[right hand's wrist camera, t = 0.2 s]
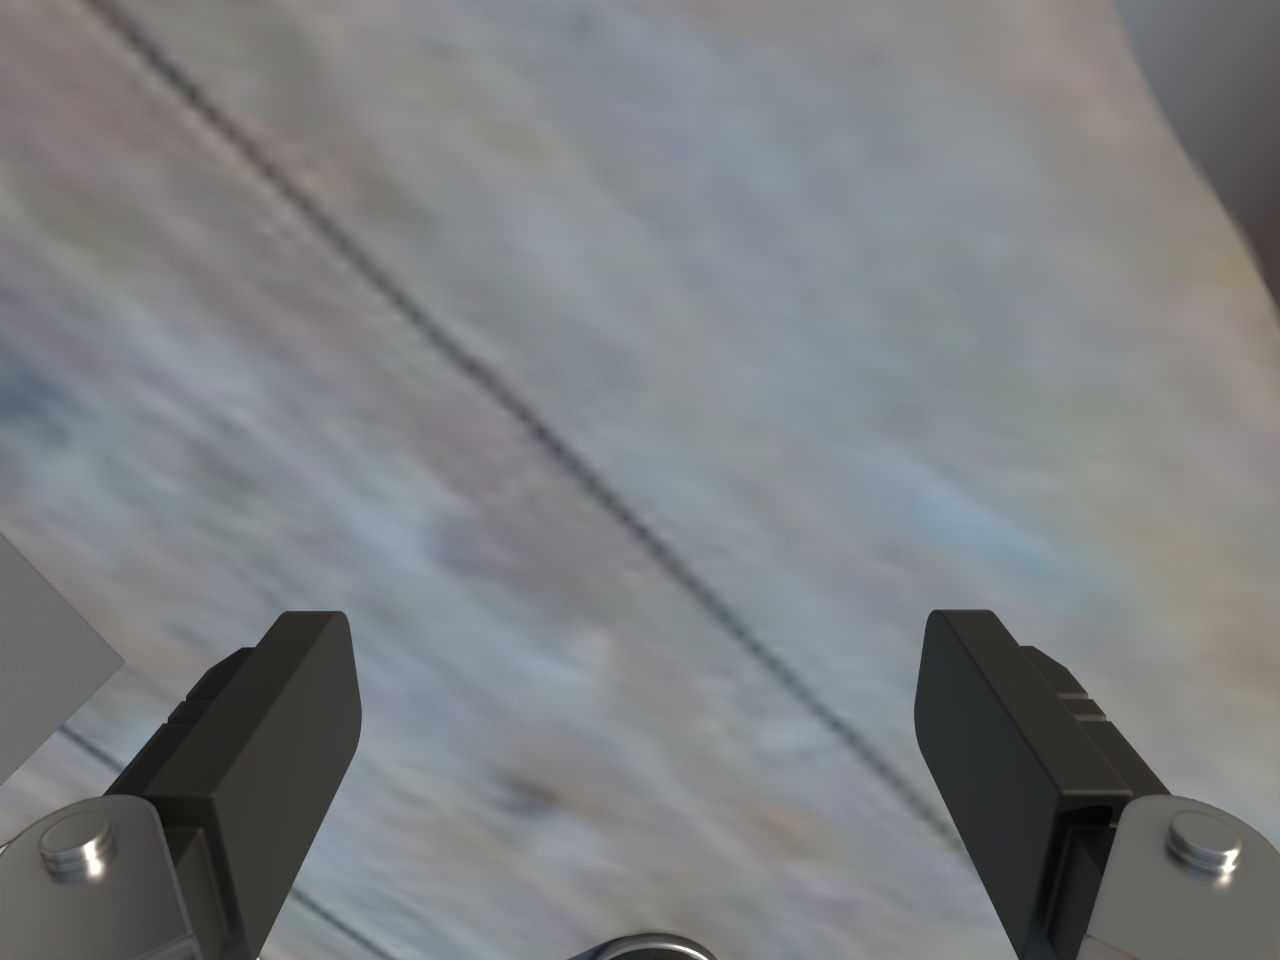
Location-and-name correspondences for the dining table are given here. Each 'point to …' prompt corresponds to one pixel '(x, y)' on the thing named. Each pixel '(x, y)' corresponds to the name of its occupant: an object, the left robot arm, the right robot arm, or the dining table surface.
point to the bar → (41, 660)
